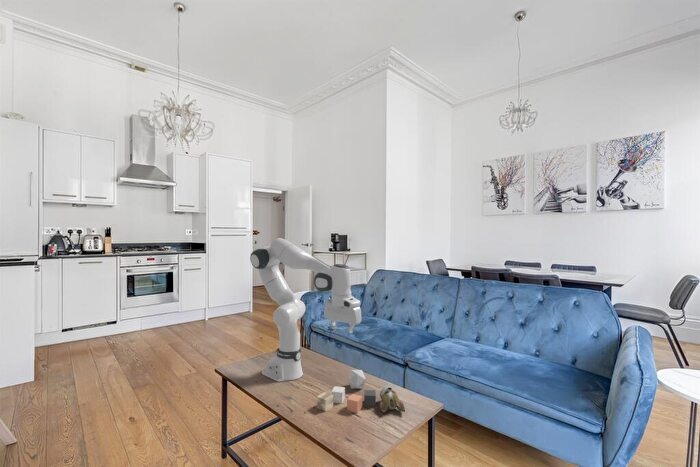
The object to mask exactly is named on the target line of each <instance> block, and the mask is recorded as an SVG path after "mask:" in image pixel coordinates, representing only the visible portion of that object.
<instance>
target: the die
mask: <svg viewBox="0 0 700 467" xmlns="http://www.w3.org/2000/svg"><path fill="white" fill-rule="evenodd" d="M366 380H367V379H366V376H365V374H364V371H363V369H351V370H350V373H349V376H348V384H349V386H350V389H351V390H357V389H359V390H363V388H364V385H365V382H366Z"/></svg>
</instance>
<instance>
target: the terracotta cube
mask: <svg viewBox="0 0 700 467" xmlns="http://www.w3.org/2000/svg"><path fill="white" fill-rule="evenodd" d="M363 398H364V396H362V395H358V394H355V393H351V395H349V397H348V398H346V411H348V412H352V413H355V414H359V412H361V411H362V409H363V407H364V406H363V403H364V401H363V400H364V399H363Z"/></svg>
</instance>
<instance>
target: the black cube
mask: <svg viewBox="0 0 700 467" xmlns="http://www.w3.org/2000/svg"><path fill="white" fill-rule="evenodd" d="M363 392H364V393H363V394H364V395H363V398H364V399H363V400H364V401H363V403H364V406H363V407H365V408H376V405H377V403H376V399H377V398H376V397H377V396H376V390H373V389H364V390H363Z"/></svg>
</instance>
